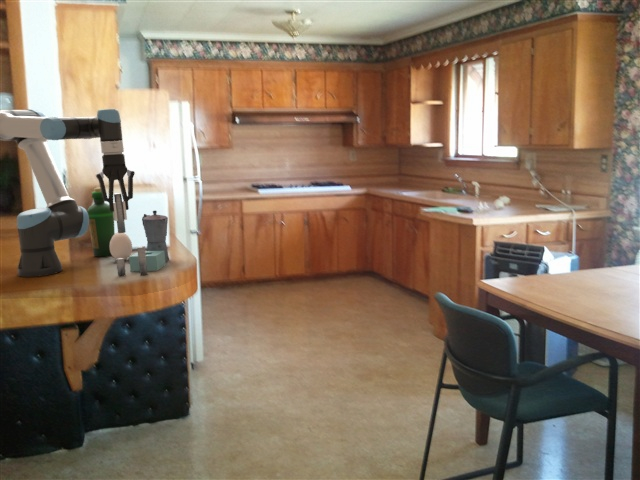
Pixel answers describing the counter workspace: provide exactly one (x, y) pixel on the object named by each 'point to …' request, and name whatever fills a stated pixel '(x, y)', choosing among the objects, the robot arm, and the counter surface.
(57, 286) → the counter surface
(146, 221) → the moka pot
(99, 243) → the bottle
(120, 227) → the pin long
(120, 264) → the pin short
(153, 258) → the teal square nut
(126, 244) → the egg
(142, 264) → the pin medium
